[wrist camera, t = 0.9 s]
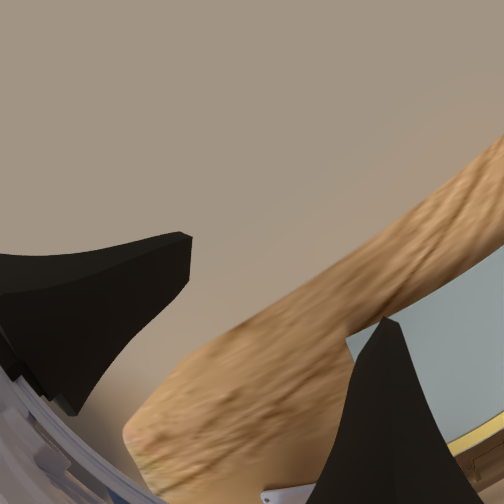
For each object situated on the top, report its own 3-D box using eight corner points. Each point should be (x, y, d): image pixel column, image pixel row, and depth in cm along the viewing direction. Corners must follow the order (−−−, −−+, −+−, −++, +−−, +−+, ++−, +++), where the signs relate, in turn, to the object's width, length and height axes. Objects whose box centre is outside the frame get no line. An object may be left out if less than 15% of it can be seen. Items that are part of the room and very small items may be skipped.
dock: (577, 352, 9) (589, 353, 7) (397, 469, 15) (396, 481, 13) (530, 224, 14) (540, 215, 12) (349, 337, 20) (344, 338, 18)
